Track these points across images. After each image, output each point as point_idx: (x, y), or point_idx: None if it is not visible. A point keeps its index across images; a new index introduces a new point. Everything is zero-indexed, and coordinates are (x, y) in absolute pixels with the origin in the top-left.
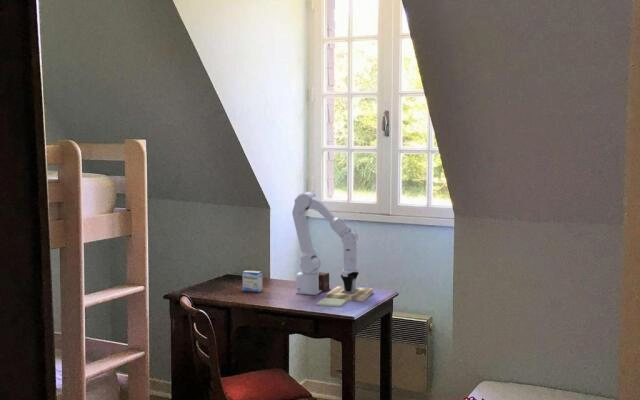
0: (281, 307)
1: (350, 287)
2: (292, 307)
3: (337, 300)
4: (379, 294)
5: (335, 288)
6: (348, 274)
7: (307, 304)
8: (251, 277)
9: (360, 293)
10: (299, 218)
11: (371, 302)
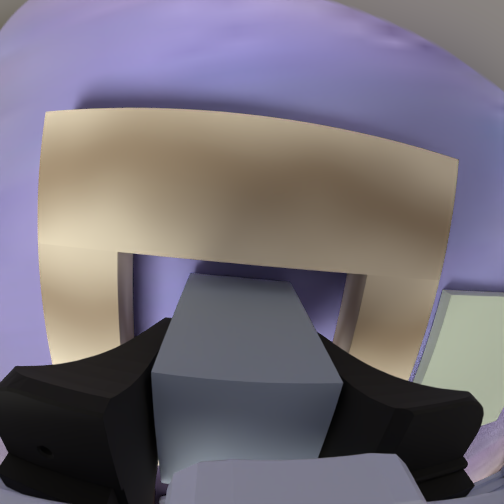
0: None
1: (334, 349)
2: (493, 462)
3: (469, 353)
4: (113, 43)
5: None
6: (462, 493)
7: (469, 451)
8: None
9: (333, 199)
10: None
11: (443, 85)
